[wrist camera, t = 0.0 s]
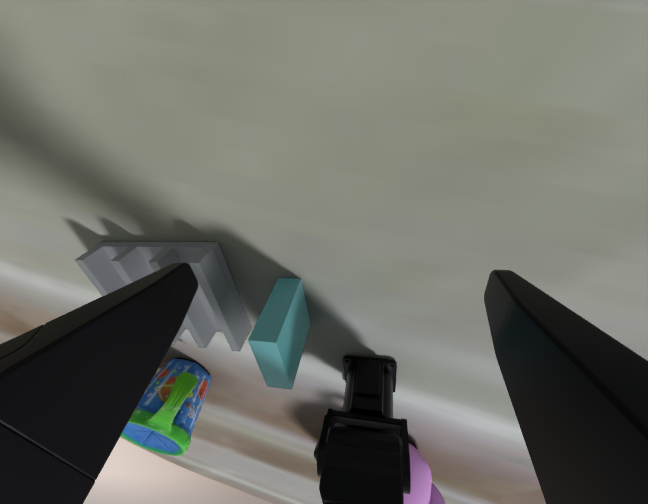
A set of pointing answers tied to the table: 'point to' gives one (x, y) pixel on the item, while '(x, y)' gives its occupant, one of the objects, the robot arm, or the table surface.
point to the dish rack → (147, 257)
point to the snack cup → (169, 408)
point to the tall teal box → (281, 333)
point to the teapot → (421, 482)
